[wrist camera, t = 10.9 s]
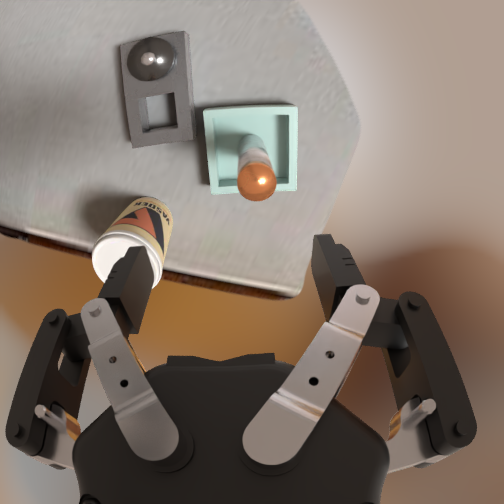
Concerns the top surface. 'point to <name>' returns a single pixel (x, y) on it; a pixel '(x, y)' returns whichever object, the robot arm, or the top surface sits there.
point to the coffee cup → (135, 236)
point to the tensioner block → (158, 86)
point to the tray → (243, 123)
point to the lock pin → (254, 169)
